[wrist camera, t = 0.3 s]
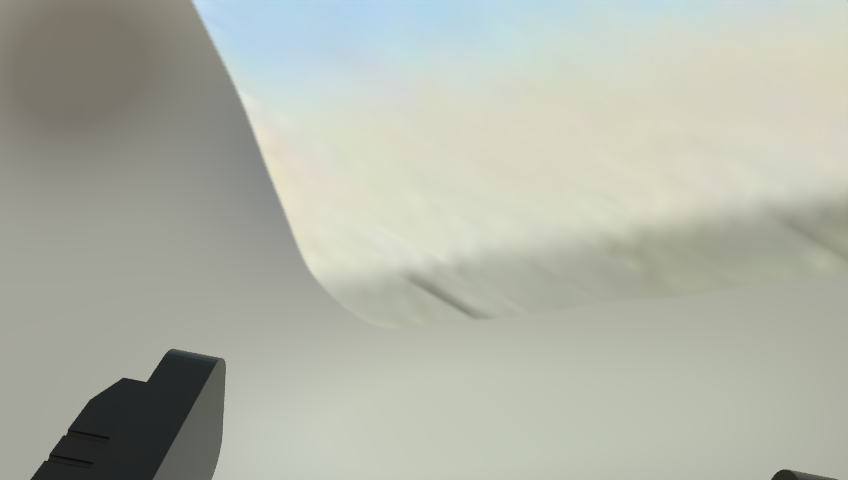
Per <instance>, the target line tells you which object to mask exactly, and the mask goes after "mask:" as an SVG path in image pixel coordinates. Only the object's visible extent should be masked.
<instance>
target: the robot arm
mask: <svg viewBox="0 0 848 480" xmlns="http://www.w3.org/2000/svg"><path fill="white" fill-rule="evenodd" d="M225 374H226V365H225V361H224V359H223V358H218V357H212V356H206V355H202V354H197V353H192V352H186V351H181V350H176V349H171V350H169V351H168V352H167V353H166V354H165V356H164V357H163V358H162V360H161V361H160V363H159V365H158V366H157V368H156V369H155V371H154V372H153V374H152V375H151V377H150V378H149V380H148V381H147V382H143V381H138V380H133V379H127V378H122V379H121V380H119V381H118V382H117V383H115V384H113V385H112V386H110V387H109V388H108V389H106V390H104V391H103V392H101V393H100V394H98V395H97V396H95V397H94V398H92V399H91V400H90V401H89V402H88V403H87V405H86V406H85V407H84V409H83V410H82V411H81V413H80V414H79V415H78V417H77V418H76V419H75V421H74V422H73V423H72V425H71V426H70V428H69V429H68V433H67V435H66V436H65V435H64V436H63V437H62V438H61V440H60V441H59V442H58V444H57V445H56V446H55V448H54V449H53V450H52V452H51V453H50V456H49V459H48V461H44V462H43V464H42V465H41V466H40V468H39V469H38V470H37V472H36V473H35V474H34V476H33V477H32V479H31V480H211V479H212V477H213V474H214V471H215V468H216V465H217V461H218V457H219V453H220V448H221V442H222V431H223V411H224V393H225ZM771 480H837V479H833V478H828V477H823V476H817V475H812V474H807V473H802V472H797V471H791V470H780V471H779V472H777V473H776V474H775V475H774V477H773V478H772V479H771Z"/></svg>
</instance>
